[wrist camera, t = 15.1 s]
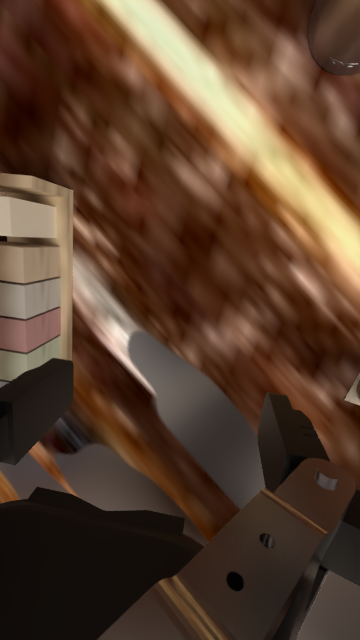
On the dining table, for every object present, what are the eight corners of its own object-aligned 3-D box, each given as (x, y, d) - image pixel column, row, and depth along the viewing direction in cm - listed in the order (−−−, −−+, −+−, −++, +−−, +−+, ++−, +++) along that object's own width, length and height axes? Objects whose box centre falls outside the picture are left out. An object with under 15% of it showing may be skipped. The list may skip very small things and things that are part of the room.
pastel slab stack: (20, 379, 49) (-26, 411, 40) (12, 184, 41) (-49, 167, 32) (71, 388, 48) (36, 422, 39) (73, 190, 40) (29, 174, 31)
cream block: (17, 203, 40) (-40, 192, 32) (56, 207, 40) (9, 197, 31) (18, 234, 41) (-36, 231, 33) (56, 238, 41) (11, 236, 32)
